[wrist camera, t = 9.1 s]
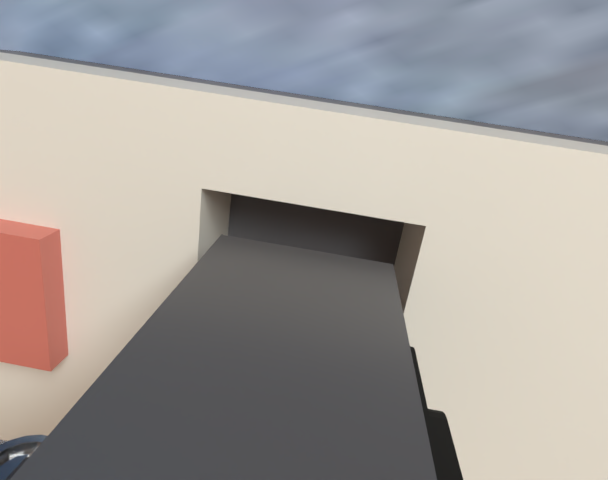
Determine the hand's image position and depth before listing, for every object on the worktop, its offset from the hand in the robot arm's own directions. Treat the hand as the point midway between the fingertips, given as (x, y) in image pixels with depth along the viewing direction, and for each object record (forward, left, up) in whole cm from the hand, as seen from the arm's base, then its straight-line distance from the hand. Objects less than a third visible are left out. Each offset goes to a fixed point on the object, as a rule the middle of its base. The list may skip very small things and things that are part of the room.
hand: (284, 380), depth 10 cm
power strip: (0, 0, -7) cm, 7 cm away
